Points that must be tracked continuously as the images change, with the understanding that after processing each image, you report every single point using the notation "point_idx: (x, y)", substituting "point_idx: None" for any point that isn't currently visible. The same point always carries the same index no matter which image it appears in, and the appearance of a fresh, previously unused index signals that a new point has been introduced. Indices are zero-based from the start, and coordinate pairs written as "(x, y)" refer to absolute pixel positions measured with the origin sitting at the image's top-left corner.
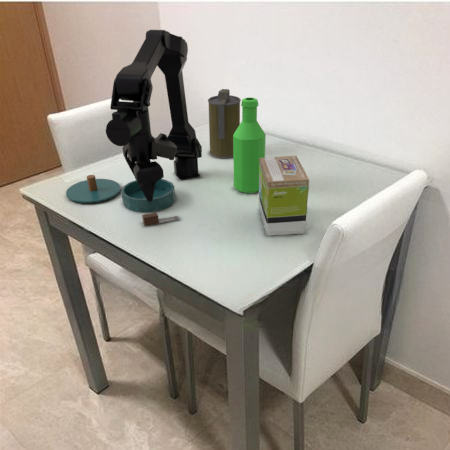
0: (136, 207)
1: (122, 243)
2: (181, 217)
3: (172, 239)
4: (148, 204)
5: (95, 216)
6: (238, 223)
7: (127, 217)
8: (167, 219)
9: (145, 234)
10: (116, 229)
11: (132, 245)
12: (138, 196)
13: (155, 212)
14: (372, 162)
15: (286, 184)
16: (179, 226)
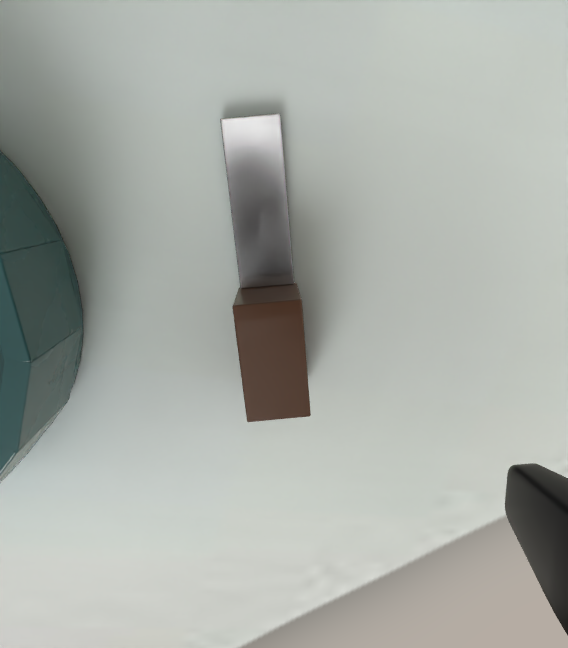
0: (44, 427)
1: (468, 519)
2: (235, 75)
3: (562, 223)
4: (55, 350)
5: (89, 630)
6: None
7: (140, 473)
8: (260, 209)
9: (414, 390)
10: (288, 539)
11: None
12: None
13: (236, 314)
14: None
15: None
16: (389, 128)
